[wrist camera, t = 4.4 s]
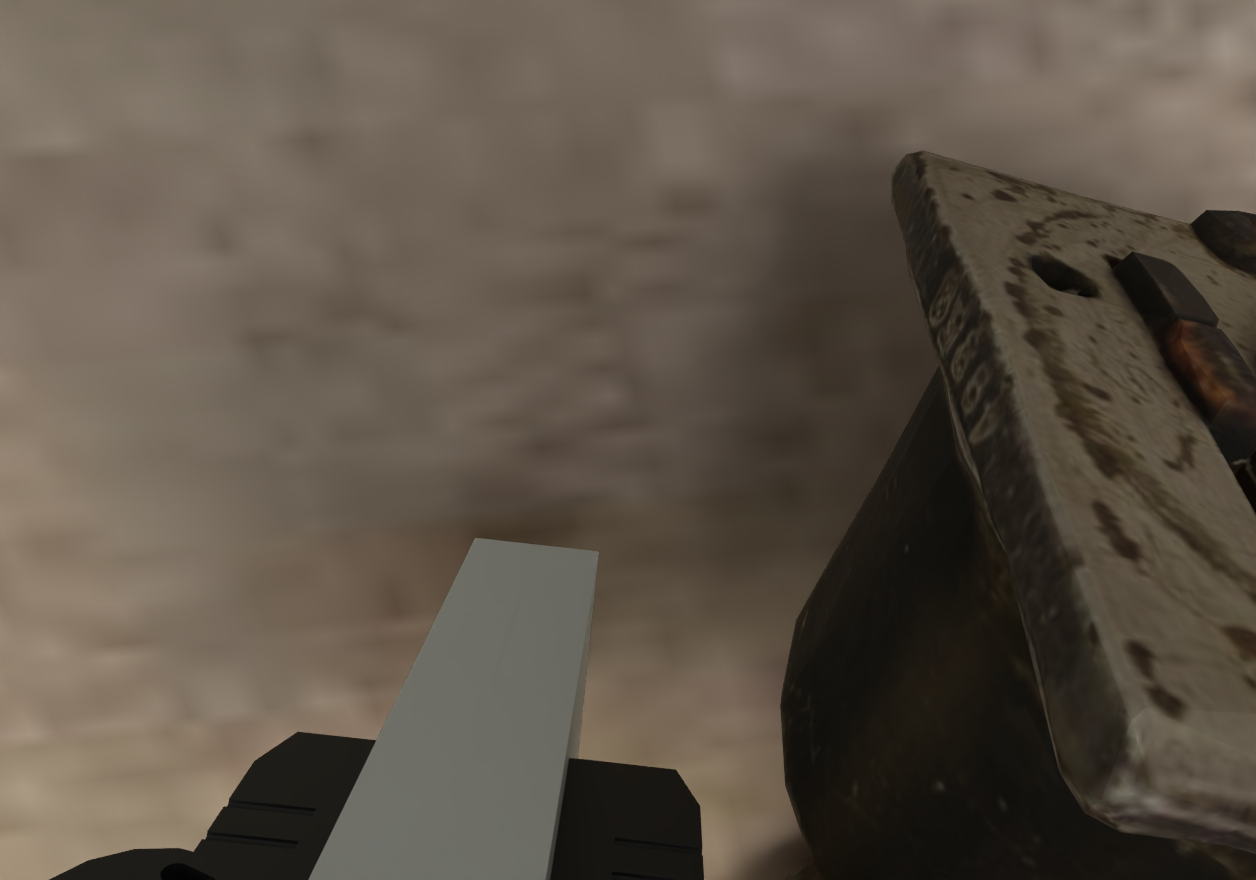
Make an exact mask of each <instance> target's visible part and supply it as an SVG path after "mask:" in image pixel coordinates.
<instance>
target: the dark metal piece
mask: <svg viewBox="0 0 1256 880" xmlns="http://www.w3.org/2000/svg"><path fill="white" fill-rule="evenodd" d="M892 204H893V207H894V210H895V213H896V216H897V219H898V222H899V225H900V228H901V231H902V234H903V237H904V240H905V243H906V253H907V263H908V270H909V274H910V277H911V280H912V283H913V286H914V289H915V292H916V295H917V298H918V302H919V305H920V308H921V311H922V314H923V317H924V320H925V323H926V326H927V329H928V332H929V335H930V338H931V341H932V344H933V347H934V350H935V353H936V356H937V359H938V362H939V364H940V365H939V367H938V369H937V371H936V373H935V375H934V376H933V378H932V380H931V382H930V384H929V386H928V388H927V389H926V391H925V393H924V395H923V397H922V399H921V400H920V402H919V404H918V406H917V408H916V410H915V412H914V413H913V415H912V417H911V419H910V421H909V423H908V424H907V426H906V428H905V430H904V432H903V434H902V436H901V437H900V439H899V441H898V443H897V445H896V447H895V449H894V450H893V452H892V454H891V456H890V458H889V460H888V461H887V463H886V465H885V467H884V469H883V471H882V472H881V474H880V476H879V477H878V479H877V481H876V483H875V484H874V486H873V488H872V489H871V491H870V493H869V495H868V496H867V498H866V500H865V501H864V503H863V505H862V507H861V508H860V510H859V512H858V513H857V515H856V517H855V519H854V520H853V522H852V524H851V525H850V527H849V529H848V531H847V532H846V534H845V536H844V538H843V539H842V541H841V543H840V544H839V546H838V548H837V550H836V551H835V553H834V555H833V556H832V558H831V560H830V562H829V563H828V565H827V567H826V569H825V570H824V572H823V574H822V576H821V577H820V579H819V581H818V583H817V584H816V586H815V588H814V590H813V592H812V593H811V595H810V597H809V599H808V600H807V602H806V604H805V606H804V607H803V609H802V611H801V613H800V615H799V616H798V618H797V620H796V625H795V630H794V635H793V640H792V645H791V649H790V654H789V659H788V664H787V669H786V674H785V679H784V684H783V689H782V697H781V722H782V739H783V756H784V772H785V786H786V789H787V792H788V795H789V798H790V801H791V804H792V807H793V810H794V813H795V816H796V819H797V822H798V825H799V828H800V831H801V833H802V836H803V838H804V841H805V843H806V846H807V848H808V851H809V853H810V856H811V858H812V859H811V860H810V861H808V862H807V863H805V864H804V865H802V866H801V867H800V868H798V869H797V870H796V871H794V872H793V873H791V874H790V875H789V876H787V877H786V879H785V880H1256V215H1255V214H1250V213H1245V212H1240V211H1217V210H1206V211H1205V212H1204V213H1203V214H1201V215H1200V216H1199V217H1198V218H1197V219H1196V220H1194V221H1193V222H1192V223H1191V224H1188V223H1183V222H1179V221H1175V220H1171V219H1168V218H1164V217H1160V216H1156V215H1152V214H1148V213H1144V212H1140V211H1136V210H1132V209H1129V208H1125V207H1121V206H1117V205H1113V204H1109V203H1105V202H1101V201H1097V200H1093V199H1089V198H1086V197H1082V196H1078V195H1075V194H1071V193H1068V192H1065V191H1061V190H1058V189H1054V188H1051V187H1047V186H1044V185H1040V184H1037V183H1033V182H1030V181H1026V180H1023V179H1019V178H1016V177H1013V176H1009V175H1006V174H1002V173H999V172H995V171H992V170H988V169H985V168H981V167H978V166H974V165H971V164H967V163H964V162H961V161H957V160H954V159H950V158H947V157H943V156H940V155H936V154H933V153H929V152H926V151H920V152H916V153H911V154H907V155H906V156H905V157H904V158H903V159H902V160H901V162H900V163H899V164H898V165H897V167H896V168H895V169H894V170H893V171H892Z"/></svg>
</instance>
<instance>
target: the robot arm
mask: <svg viewBox="0 0 1256 880" xmlns="http://www.w3.org/2000/svg"><path fill="white" fill-rule="evenodd" d="M598 558H599V551H591V550H582V549H573V548H564V547H554V546H545V545H536V544H527V543H518V542H509V541H500V540H491V539H482V538H475V539H474V541H473V543H472V545H471V547H470V549H469V552H468V554H467V556H466V558H465V560H464V562H463V564H462V566H461V568H460V570H459V572H458V574H457V576H456V578H455V580H454V582H453V584H452V586H451V588H450V591H449V593H448V595H447V597H446V599H445V601H444V603H443V605H442V607H441V609H440V611H439V613H438V615H437V617H436V619H435V621H434V623H433V625H432V627H431V629H430V632H429V634H428V636H427V638H426V640H425V642H424V644H423V646H422V648H421V650H420V652H419V654H418V656H417V658H416V660H415V662H414V664H413V666H412V668H411V670H410V673H409V675H408V677H407V679H406V681H405V683H404V685H403V687H402V689H401V691H400V693H399V695H398V697H397V699H396V701H395V703H394V705H393V707H392V709H391V711H390V714H389V716H388V718H387V720H386V722H385V724H384V726H383V728H382V730H381V732H380V734H379V736H378V738H377V740H367V739H358V738H349V737H340V736H331V735H322V734H313V733H304V732H297V733H295V734H294V735H292V736H291V737H289V738H288V739H286V740H285V741H284V742H282V743H281V744H279V745H278V746H276V747H275V748H273V749H272V750H270V751H269V752H267V753H266V754H264V755H263V756H261V757H260V758H258V759H257V760H255V761H254V763H253V764H252V766H251V767H250V768H249V770H248V771H247V773H246V774H245V776H244V777H243V779H242V780H241V782H240V783H239V785H238V786H237V788H236V789H235V791H234V792H233V794H232V795H231V797H230V798H229V803H228V806H227V807H225V806H224V807H223V809H222V810H221V812H220V813H219V815H218V816H217V818H216V819H215V821H214V822H213V824H212V825H211V827H210V828H209V830H208V832H207V837H206V839H205V840H204V839H202V840H201V842H200V843H199V845H198V846H197V848H196V849H195V851H194V852H192V851H188V850H184V849H180V848H165V849H133V850H129V851H125V852H121V853H117V854H113V855H109V856H105V857H101V858H97V859H92V860H88V861H86V862H84V863H82V864H80V865H78V866H76V867H74V868H72V869H70V870H68V871H66V872H64V873H62V874H60V875H58V876H56V877H54V878H52V879H50V880H704V871H703V855H702V833H701V814H700V805H699V804H698V802H697V801H696V799H695V798H694V796H693V795H692V793H691V792H690V790H689V789H688V787H687V786H686V784H685V783H684V781H683V780H682V778H681V777H680V775H679V774H678V772H677V771H676V770H674V769H665V768H656V767H647V766H638V765H629V764H620V763H611V762H602V761H593V760H584V759H577V758H578V751H579V742H580V732H581V723H582V713H583V703H584V693H585V684H586V674H587V664H588V655H589V645H590V635H591V625H592V616H593V606H594V596H595V587H596V577H597V567H598Z"/></svg>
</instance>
